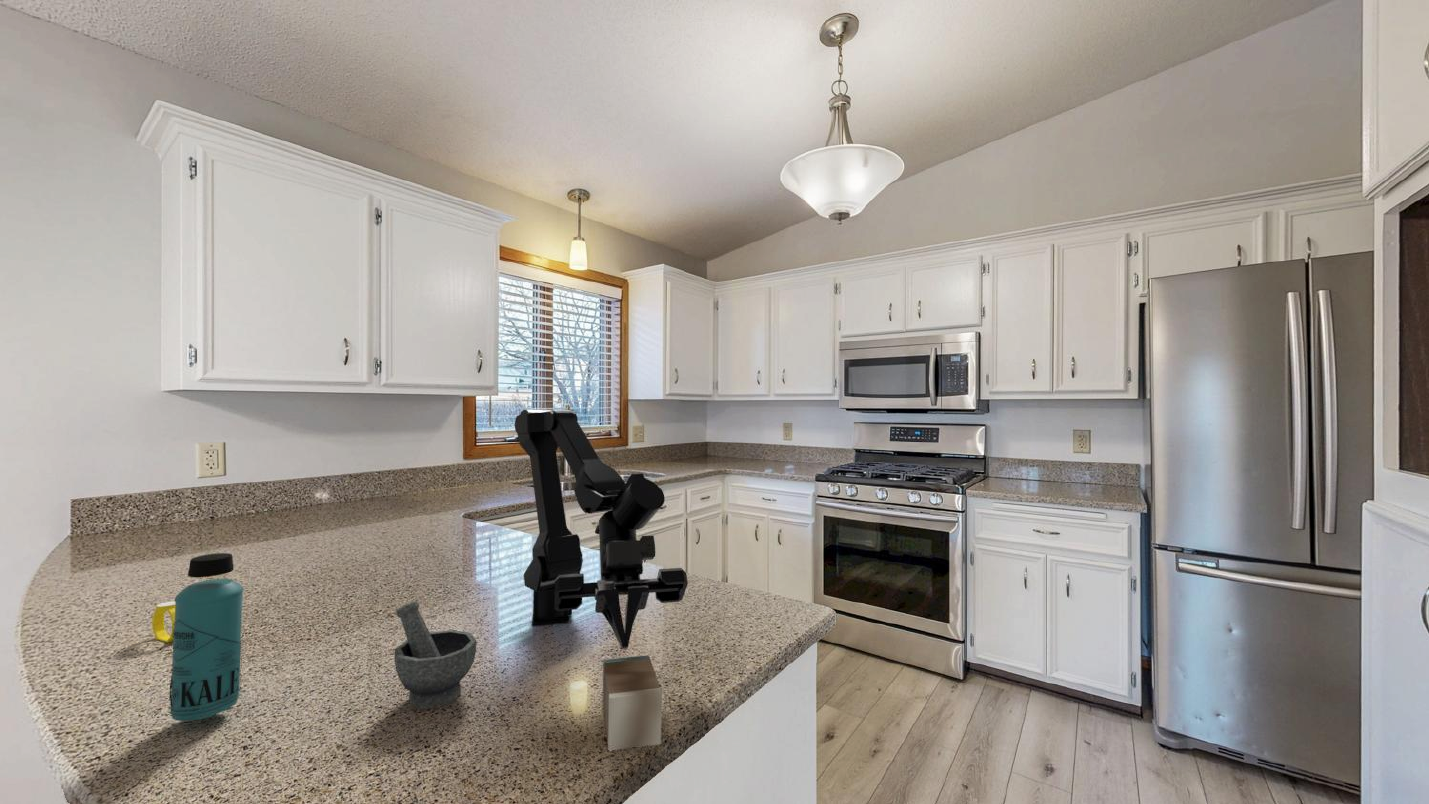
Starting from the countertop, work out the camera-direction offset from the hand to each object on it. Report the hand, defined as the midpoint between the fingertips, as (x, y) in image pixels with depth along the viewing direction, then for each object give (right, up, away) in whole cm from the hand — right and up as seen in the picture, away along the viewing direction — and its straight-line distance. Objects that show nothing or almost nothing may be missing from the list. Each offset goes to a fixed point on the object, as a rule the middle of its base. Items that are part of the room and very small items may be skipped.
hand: (625, 647), depth 75 cm
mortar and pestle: (-26, -6, -1) cm, 27 cm away
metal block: (0, -4, -2) cm, 4 cm away
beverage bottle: (-50, -6, -7) cm, 51 cm away
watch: (-77, -6, +15) cm, 79 cm away
